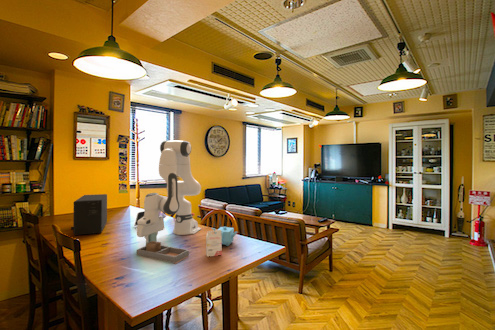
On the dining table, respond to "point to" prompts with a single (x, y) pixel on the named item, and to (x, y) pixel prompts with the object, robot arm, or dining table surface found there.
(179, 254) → the tray
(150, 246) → the walnut block
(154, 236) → the slate block
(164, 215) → the purple rock
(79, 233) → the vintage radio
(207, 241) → the ink cartridge box
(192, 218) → the robot arm
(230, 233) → the teapot
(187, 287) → the dining table surface
